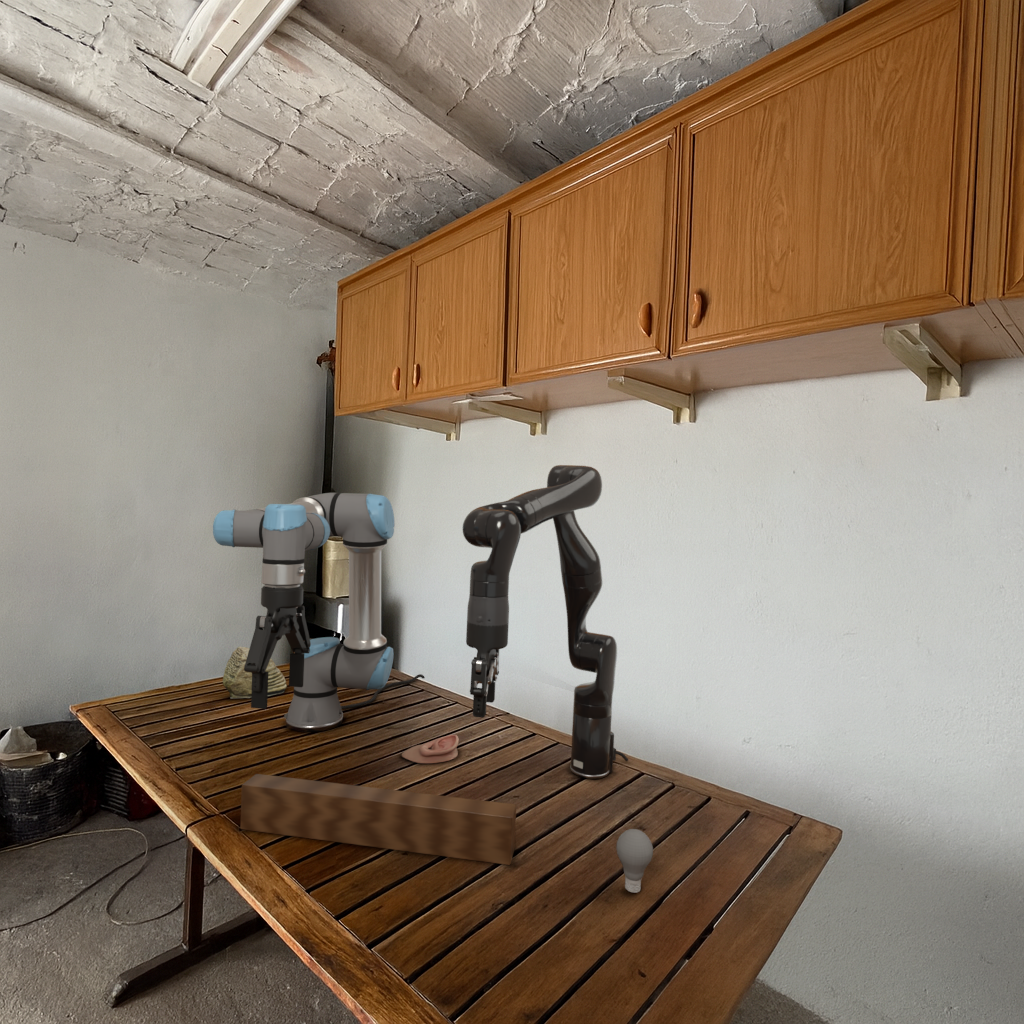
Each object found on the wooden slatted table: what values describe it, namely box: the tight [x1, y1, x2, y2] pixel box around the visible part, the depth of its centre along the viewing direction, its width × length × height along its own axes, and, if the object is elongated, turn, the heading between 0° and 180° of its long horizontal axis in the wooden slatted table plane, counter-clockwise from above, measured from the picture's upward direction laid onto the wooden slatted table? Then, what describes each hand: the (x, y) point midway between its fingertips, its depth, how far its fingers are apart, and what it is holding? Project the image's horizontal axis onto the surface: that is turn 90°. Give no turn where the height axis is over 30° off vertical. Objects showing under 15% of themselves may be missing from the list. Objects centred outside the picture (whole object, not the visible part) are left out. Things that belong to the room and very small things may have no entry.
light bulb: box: [615, 828, 654, 894], centre depth 106 cm, size 6×6×10 cm
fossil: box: [222, 646, 288, 699], centre depth 198 cm, size 9×18×15 cm, turn 132°
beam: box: [239, 773, 517, 866], centre depth 118 cm, size 52×5×8 cm, turn 81°
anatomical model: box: [401, 734, 460, 764], centre depth 158 cm, size 13×4×12 cm
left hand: (278, 696), depth 120 cm, fingers open, 13 cm apart
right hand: (484, 708), depth 114 cm, fingers open, 8 cm apart
